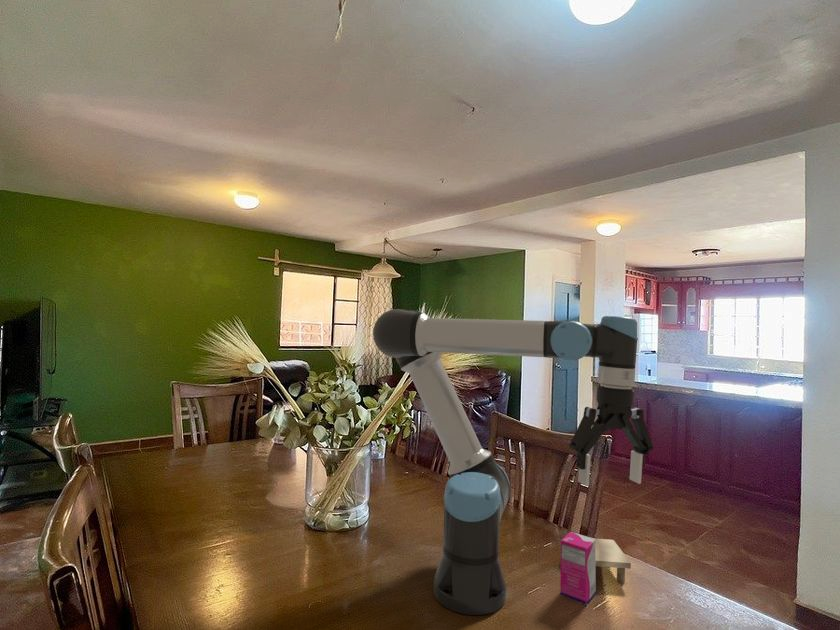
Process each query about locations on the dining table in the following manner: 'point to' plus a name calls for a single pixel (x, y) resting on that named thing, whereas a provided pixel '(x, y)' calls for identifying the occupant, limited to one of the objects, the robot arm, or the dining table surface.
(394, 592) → the dining table surface
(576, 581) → the supplement box
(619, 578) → the footstool
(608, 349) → the robot arm
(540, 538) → the dining table surface
